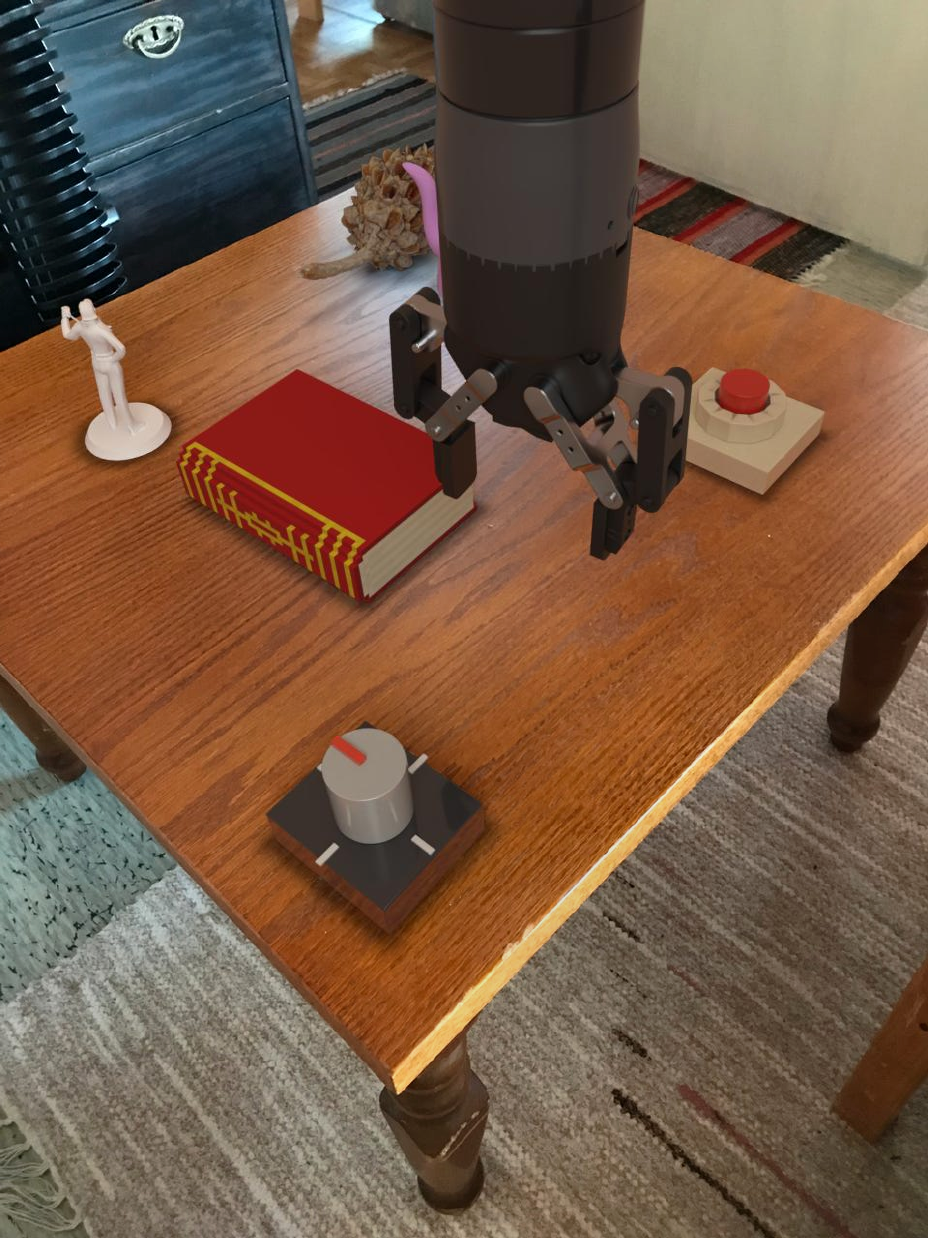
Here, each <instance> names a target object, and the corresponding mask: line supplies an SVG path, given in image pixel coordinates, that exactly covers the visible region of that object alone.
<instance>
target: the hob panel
mask: <svg viewBox="0 0 928 1238" xmlns="http://www.w3.org/2000/svg"><path fill="white" fill-rule="evenodd" d="M366 728H371V729H378V728H377V727H376V726H375V725H373V724H371V723H370V721H369V722H368V721H367V720H365V721H363V722H362V723H361V724H360V725H359V726H358V727H357V728H355V730H358V729H366ZM403 748H404V750H405V752H406V756H407V763H408V769H409V775H410V781H411V787H412V794H413V800H414V810H413V815H412V818H411V820H410V822H409V823H408V825H407V826H406V827H405V829H404V830H403V831H402V832H401V833H400V834H398V835H397V836H395V837H394V838H392V839H390V840H387V841H385V842H381V843H376V844H366V843H360V842H357V841H354V840H352V839H350V838H349V837H347V836H346V835H345V834H343V833H342V831H341V830H340V829H339V827H338V826H337V824H336V821H335V818H334V815H333V811H332V808H331V804H330V801H329V797H328V794H327V790H326V787H325V783H324V780H323V776H322V761H320V762H319V763H318V764H317V765H316V766H315V767H314V768H312V769H311V771H310V772H308V773H307V775H305V777H303V778H302V779H301V780H300V781H299V782H298V783H297V784H296V785H295V786H293V787H292V789H290V790H289V791H288V792H287V793H286V794H285V795H284V796H283V797H282V798H281V799H280V800H279V801H278V802H276V803H275V804H274V805H273V806H272V807H271V808H270V809H269V810H268V811H266V813H265V816H266V818H267V821H268V824H269V827H270V828H271V831H272V835H273V836H274V839H275V841H276V842H277V843H278V844H280V845H281V846H282V847H283V848H284V849H286V850H287V851H288V852H289V853H290V854H292V855H293V856H294V857H296V858H297V859H298V860H299V861H300V862H301V863H302V864H304V865H305V866H306V867H307V868H308V869H309V870H311V871H312V872H314V873H315V874H316V875H317V876H318V877H319V878H321V879H322V880H323V881H324V882H325V883H327V885H329V886H330V887H331V888H333V889H334V890H335V891H336V892H338V893H339V894H340V895H341V896H342V897H343V898H344V899H346V900H347V901H349V903H351V904H352V905H353V906H354V907H355V908H357V909H358V910H359V911H360V912H362V913H363V915H365V916H366V917H367V918H368V919H370V920H371V921H372V922H373V923H375V924H376V926H378V927H380V928H381V929H382V930H383V931H384V932H386V933H387V934H388V935H391V934H392V933H393V932H394V931H396V929H397V928H398V927H399V926H400V924H401V923H402V922H403V921H404V920H405V919H406V918H407V917H408V916H409V915H410V913H412V911H413V910H414V909H415V908H416V907H417V906H418V905H419V903H420V902H421V901H422V900H423V899H424V898H425V897H426V896H427V895H428V894H429V892H430V891H432V889H433V888H434V887H435V886H436V885H437V884H438V883H439V881H440V880H441V879H442V878H443V877H444V876H445V875H446V874H447V873H448V872H449V870H450V869H451V868H452V867H453V866H454V865H455V864H456V863H457V862H458V860H459V859H461V857H462V856H463V855H464V854H465V853H466V852H467V850H468V849H469V848H470V847H472V845H473V844H474V843H475V842H476V840H478V838H479V837H480V836H481V835H482V834H483V833H484V832H485V830H486V829H485V828H486V827H485V812H484V803H483V802H481V801H480V800H478V799H477V798H476V797H475V796H473V795H472V794H471V793H469V792H467V791H466V790H465V789H463V788H462V787H461V786H460V785H458V784H457V783H455V782H454V781H452V780H451V779H450V778H447V777H446V776H445V775H444V774H442V773H440V772H439V771H438V770H436V769H435V768H434V767H433V766H431V765H429V764H428V763H427V762H426V761H427V760H428V759H429V756H428V755H427V754H425V753H422V754H421V755H420V756H419V757H418V756H416V754H414V753H412V752H411V751H410V750H408V749H407V748H405V747H404V746H403Z"/></svg>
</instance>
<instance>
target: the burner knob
mask: <svg viewBox="0 0 928 1238" xmlns="http://www.w3.org/2000/svg"><path fill="white" fill-rule="evenodd" d="M403 747H404V745H403V744H402V743H401V741H400V740H398V738H396V736H394V735H392V734H391V733H389V732H387V731H384V730H381V729H378V728H377V729H371V728H366V729H358V730H356V729H354V730H351V731H348V732H346V733H344V734H342V735H341V736H340V735H338V734H337V735H336V736H335V737H333V739H331V740H330V745H329V746H328V748H327V749H326V751H325V753H324V756H323V757H322V760H321V762H322V776H323V780H324V783H325V787H326V790H327V794H328V797H329V801H330V804H331V808H332V811H333V815H334V818H335V821H336V824H337V826H338V827H339V829H340V830H341V831H342V833H343V834H345V835H346V836H347V837H349V838H350V839H352V840H354V841H357V842H360V843H366V844H376V843H381V842H385V841H387V840H390V839H392V838H394V837H395V836H397V835H398V834H400V833H401V832H402V831H403V830H404V829H405V827H406V826H407V825H408V823H409V822H410V820H411V818H412V815H413V810H414V800H413V794H412V787H411V781H410V775H409V769H408V763H407V756H406V752H405V750H404V748H405V747H404V748H403Z"/></svg>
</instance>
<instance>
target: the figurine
mask: <svg viewBox="0 0 928 1238" xmlns="http://www.w3.org/2000/svg"><path fill="white" fill-rule="evenodd" d="M78 309H79V313H80V315H81V320H79V319H77V318H76V317H74V316H73V315H72V313H71V308H70V307H69V306H68V305H64V306H61V307H60V310H61V319H60V326H61V332H62V333H61V334H62V336H63V338H64V339H66V340H68V341H78V339H79V338H81V339H83V341H84V342H85V343H86V345H87V346H88V347H89V350H90V355H91V356H90V357H91V367H92V370H93V374H94V379H95V383H96V387H97V391H98V396H99V400H100V404H101V406H102V412H100V413H99V414H98V415H96V417H94V418H93V419H92V421H91V422H90V424H89V426H88V428H87V431H86V434H85V438H84V445H85V447H86V449H87V450H88V452H89V453H91V454H92V455H93V456H94V457H96V458H98V459H101V460H102V459H103V460H107V461H127V460H131V459H135V458H139V457H142V456H145V455H147V454H148V453H151V452H153V451H154V450H156V449H158V448H159V447H160V446H161V445H163V444H164V443H165V442H166V440H168V438H169V436H170V434H171V433H172V420H171V418H170V416H168V415H167V414H166V413H165V412H164V411H163V410H161V409H160V408H157V407H156V406H154V405H152V404H149V403H145V402H128V399H127V395H126V389H125V376H124V371H123V367H122V364H121V363H120V361H121V360H122V359H123V358H124V357H125V356H126V354H127V351H126V346H125V345H124V344H123V343H122V342H121V341H120V340H119V339H118V338H117V337H116V336H115V334H114V332H113V329H112V327H113V326H112V325H106V323H104V322H103V321H102V320H101V318H100V315H97V314H96V307H94V303H93V302H92V300H91V299H89V298H85V299H83V300H82V301H80V302H79V303H78ZM70 318H71V319H72V320H74V321H75V323H74V324H73V326H72V327H71V324H70ZM114 349H115V351H114ZM114 403H115V405H114Z"/></svg>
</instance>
